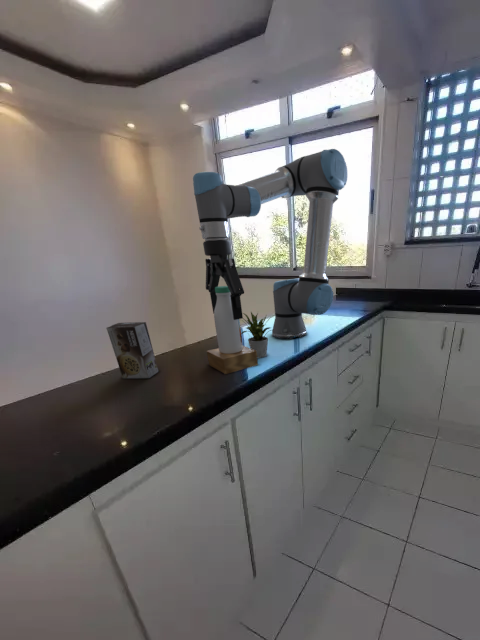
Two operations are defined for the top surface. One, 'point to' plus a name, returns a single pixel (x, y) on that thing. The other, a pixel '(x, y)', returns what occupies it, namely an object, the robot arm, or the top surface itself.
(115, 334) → the food box
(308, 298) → the robot arm
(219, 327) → the milk bottle
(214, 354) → the oak block
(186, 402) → the top surface
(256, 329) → the house plant
